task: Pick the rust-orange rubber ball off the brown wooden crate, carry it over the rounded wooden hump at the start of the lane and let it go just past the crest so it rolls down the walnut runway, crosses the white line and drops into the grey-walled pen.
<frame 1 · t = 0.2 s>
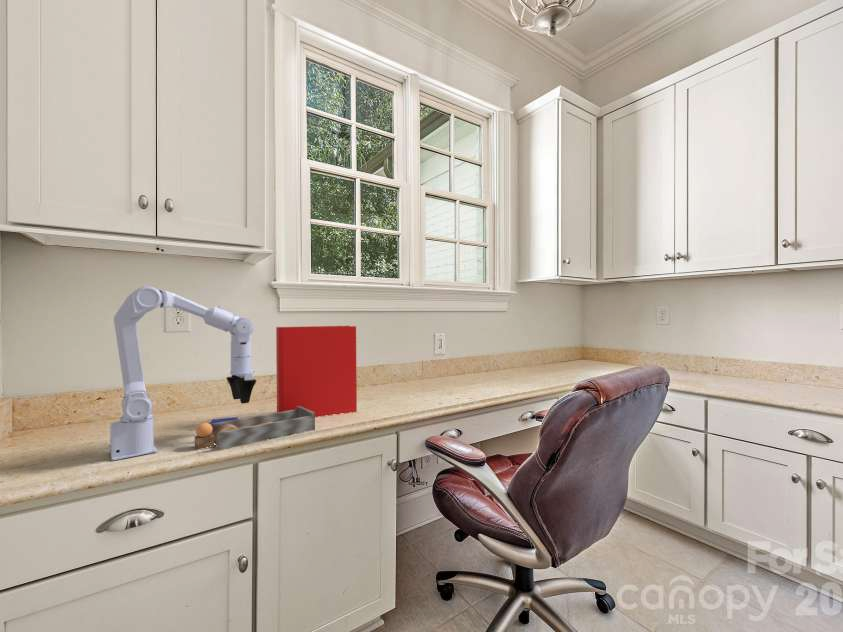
hand: (241, 400, 120), 10 cm above the worktop, tool pointing down, fingers open, 7 cm apart
book: (317, 414, 143), on the worktop
hard drive: (223, 427, 129), on the worktop
ball: (204, 430, 108), point 4 cm above the worktop, touching brown wooden crate
lane: (229, 441, 113), on the worktop
brown wooden crate: (204, 446, 108), on the worktop
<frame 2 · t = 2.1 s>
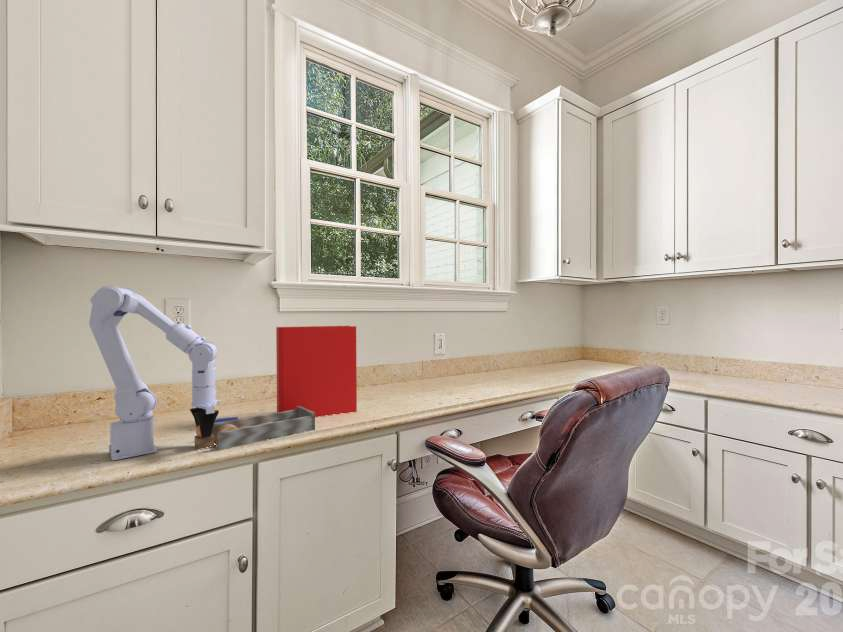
hand: (204, 434, 108), 3 cm above the worktop, tool pointing down, fingers closed on ball, 4 cm apart
ball: (204, 430, 108), point 4 cm above the worktop, touching gripper, brown wooden crate
everything else where it was.
when the fingers open (6 cm above the worktop, at t = 4.2 s): ball drops 5 cm and tips over, point 2 cm above the worktop.
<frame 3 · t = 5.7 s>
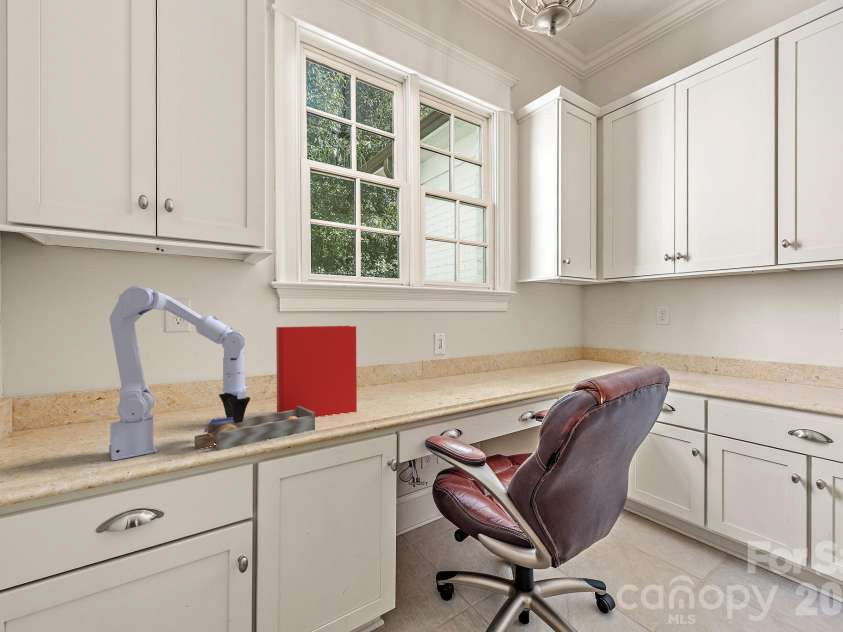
hand: (234, 419, 113), 6 cm above the worktop, tool pointing down, fingers open, 7 cm apart
ball: (292, 422, 125), point 2 cm above the worktop, tilted 179°
everything else where it was.
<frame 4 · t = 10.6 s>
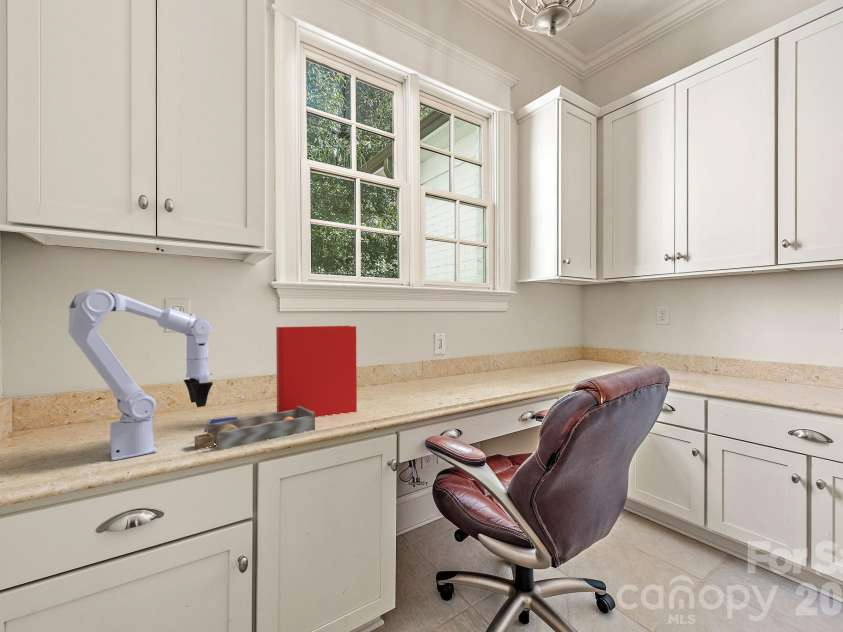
hand: (198, 404, 116), 10 cm above the worktop, tool pointing down, fingers open, 7 cm apart
ball: (288, 423, 124), point 2 cm above the worktop, tilted 144°
everything else where it was.
at the end: ball inside the target area on the lane (1.1 cm from its centre), point 2.0 cm above the lane's base; the gripper is holding nothing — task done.
